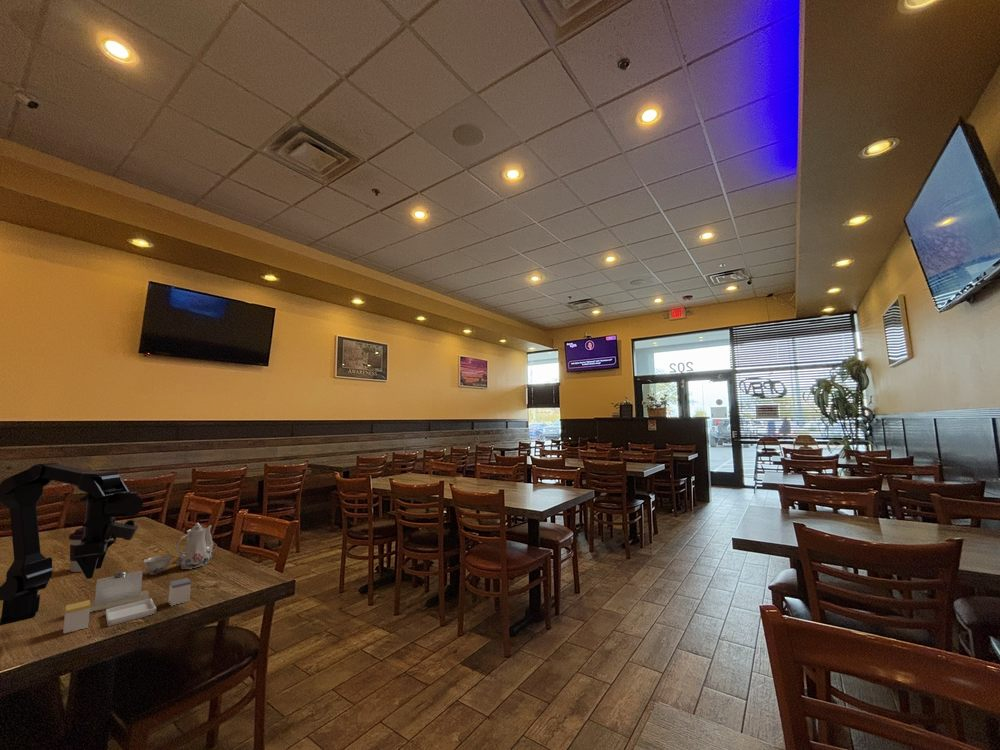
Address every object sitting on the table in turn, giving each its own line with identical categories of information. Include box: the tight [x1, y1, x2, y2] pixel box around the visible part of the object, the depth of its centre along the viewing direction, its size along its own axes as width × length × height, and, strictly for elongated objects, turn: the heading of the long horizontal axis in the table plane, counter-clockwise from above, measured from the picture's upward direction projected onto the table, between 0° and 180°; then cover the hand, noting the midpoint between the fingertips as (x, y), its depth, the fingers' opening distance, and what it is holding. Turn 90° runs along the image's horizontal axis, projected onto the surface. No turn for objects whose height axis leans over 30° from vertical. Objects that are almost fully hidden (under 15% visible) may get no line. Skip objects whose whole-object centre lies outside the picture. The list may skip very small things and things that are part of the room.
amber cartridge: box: [62, 599, 91, 634], centre depth 109 cm, size 4×4×6 cm
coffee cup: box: [68, 526, 84, 573], centre depth 153 cm, size 10×10×15 cm
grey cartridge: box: [167, 577, 192, 607], centre depth 125 cm, size 4×4×6 cm
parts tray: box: [105, 597, 157, 627], centre depth 117 cm, size 10×10×2 cm
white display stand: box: [90, 570, 150, 613], centre depth 124 cm, size 14×4×9 cm, turn 137°
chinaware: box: [142, 522, 218, 575], centre depth 157 cm, size 28×17×17 cm, turn 174°
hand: (94, 573), depth 115 cm, fingers open, 9 cm apart
